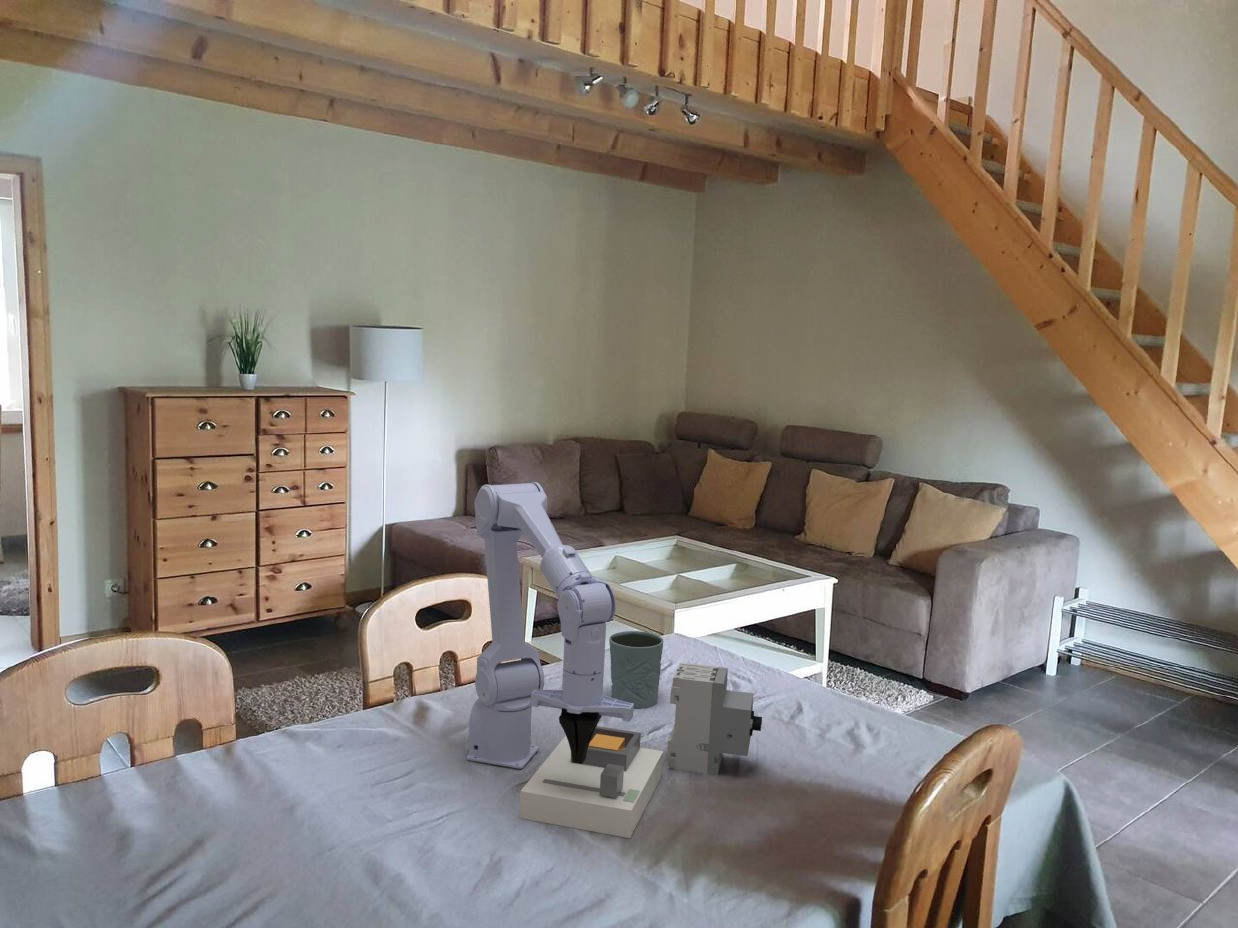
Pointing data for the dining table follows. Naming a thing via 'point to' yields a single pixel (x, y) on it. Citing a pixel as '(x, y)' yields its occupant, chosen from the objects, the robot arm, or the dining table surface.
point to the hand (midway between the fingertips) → (579, 760)
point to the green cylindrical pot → (636, 667)
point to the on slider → (611, 780)
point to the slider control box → (593, 787)
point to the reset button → (608, 742)
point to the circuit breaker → (708, 719)
